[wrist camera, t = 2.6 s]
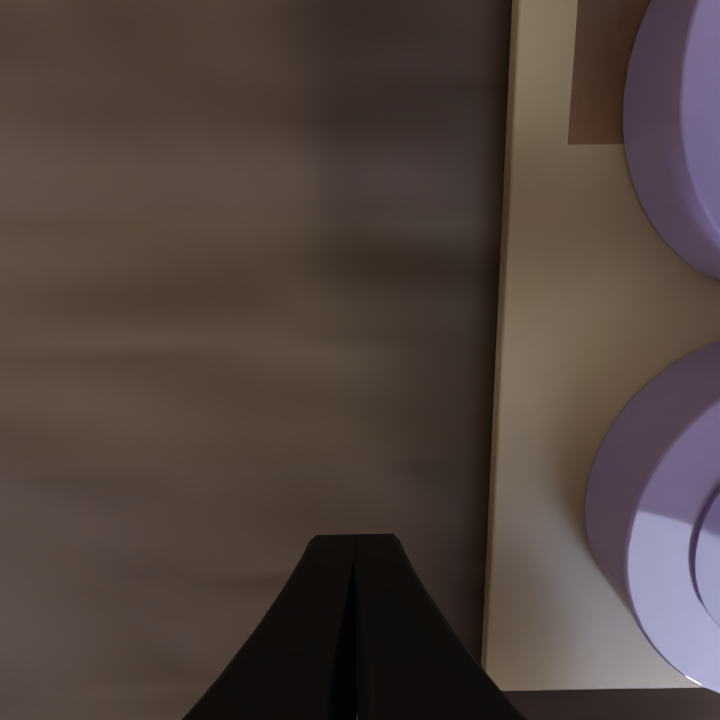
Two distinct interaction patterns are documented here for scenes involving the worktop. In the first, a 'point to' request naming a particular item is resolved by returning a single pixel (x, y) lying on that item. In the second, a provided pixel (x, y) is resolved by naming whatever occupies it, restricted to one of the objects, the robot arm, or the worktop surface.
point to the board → (572, 348)
